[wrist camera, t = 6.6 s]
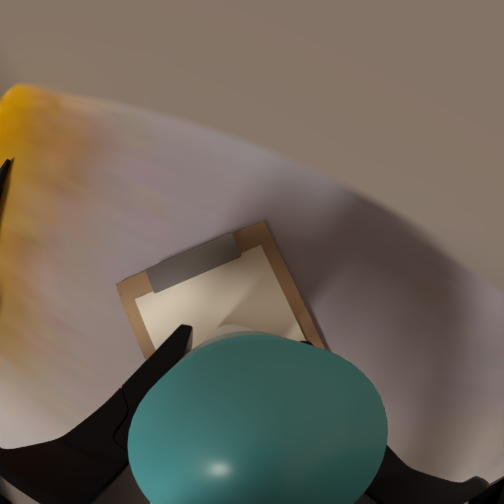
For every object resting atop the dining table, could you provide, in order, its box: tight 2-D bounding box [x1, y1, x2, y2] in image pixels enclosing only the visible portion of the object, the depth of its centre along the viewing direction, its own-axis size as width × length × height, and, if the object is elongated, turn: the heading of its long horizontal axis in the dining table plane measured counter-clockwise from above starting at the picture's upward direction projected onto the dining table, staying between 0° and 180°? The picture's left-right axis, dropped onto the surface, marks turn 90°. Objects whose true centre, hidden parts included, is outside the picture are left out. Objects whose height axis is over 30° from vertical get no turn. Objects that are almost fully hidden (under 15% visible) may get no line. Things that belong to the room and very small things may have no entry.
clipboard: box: [116, 221, 325, 360], centre depth 16 cm, size 14×11×1 cm
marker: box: [128, 324, 388, 504], centre depth 9 cm, size 4×4×13 cm
